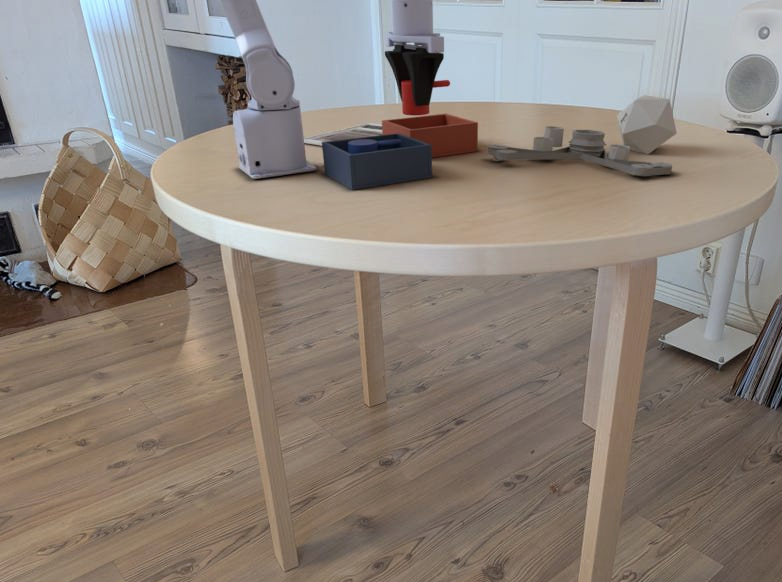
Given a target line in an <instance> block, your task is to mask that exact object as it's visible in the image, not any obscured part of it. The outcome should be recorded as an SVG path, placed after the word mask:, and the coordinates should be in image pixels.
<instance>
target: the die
mask: <svg viewBox="0 0 782 582" xmlns="http://www.w3.org/2000/svg"><path fill="white" fill-rule="evenodd" d="M616 119H617V123H618V129H619V132H620V135H621V139H622V140H621V141H622V145H625V146H629V147H630V151H633V152H637V153H640V154H644V155H649V154H651V153H652V152H653V151H654V150H656V149H657V148H659V147H661V145H663V144H665V143H666V142H667V141H668V140H670V139H671V138H673V137H674V136H676V135H677V134H678V132H677V127H676V123H675V118H674V113H673V109H672V104H671V99H670V98H664V97H660V96H659V97H658V96H653V95H647V94H644V95H642V96H640V97H637V98H636V99H634V100H633V101H632V102H631V103H630V104H628V105H627V106H626V107H625V108H624V109H623V110H622V111H620V112H619V113H618V114H617V115H616Z"/></svg>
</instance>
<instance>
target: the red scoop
mask: <svg viewBox="0 0 782 582" xmlns="http://www.w3.org/2000/svg"><path fill="white" fill-rule="evenodd" d="M450 85H451V81H450V80H449V79H444V80H443V79H442V80H435V81H434V85H433V89H435V88H445V87H446V88H447V87H450ZM401 86H402V101H401V106H402V107H401V108H402V114H403V115H405V116H412V117H417V116H427V115H430V104H429V105H424V106H415V103H414V99H413V93H412V84H411V80H407V81H402V82H401Z"/></svg>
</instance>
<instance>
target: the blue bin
mask: <svg viewBox="0 0 782 582" xmlns="http://www.w3.org/2000/svg"><path fill="white" fill-rule="evenodd" d="M359 139H370V140H375V141H384V140H392V139H400V140H401V144H400V145H398V146H390V147H382V148H377V149H378V151H374V152H366V153H358V154H350V153H349V150H348V142H349V141H352V140H359ZM321 148H322V150H321V151H322V159H323V167H324V175H326V176H327V177H329V178H331V179H333V180H334V181H336V182H338V183H340V184H342V185H343V186H345V187H347V188H348V189H349V190H351V191H354V190H361V189H368V188H375V187H381V186H387V185H393V184H400V183H407V182H413V181H419V180H425V179H432V178H433V157H432V147H431V145H430V144H427V143H425V142H422V141H419V140H416V139H414V138H411V137H408V136H405V135H403V134H400V133H396V134H395V133H394V134H386V135H378V136H369V137H361V138H352V139H344V140H336V141H327V142H322V146H321Z"/></svg>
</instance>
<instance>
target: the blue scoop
mask: <svg viewBox="0 0 782 582" xmlns="http://www.w3.org/2000/svg"><path fill="white" fill-rule="evenodd" d="M400 144H401V140H400V139H392V140H384V141H375V140H370V139H359V140H352V141H349V142H348V150H349V153H350V154H358V153H366V152H374V151H378V149H377V148H382V147H390V146H398V145H400Z"/></svg>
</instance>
